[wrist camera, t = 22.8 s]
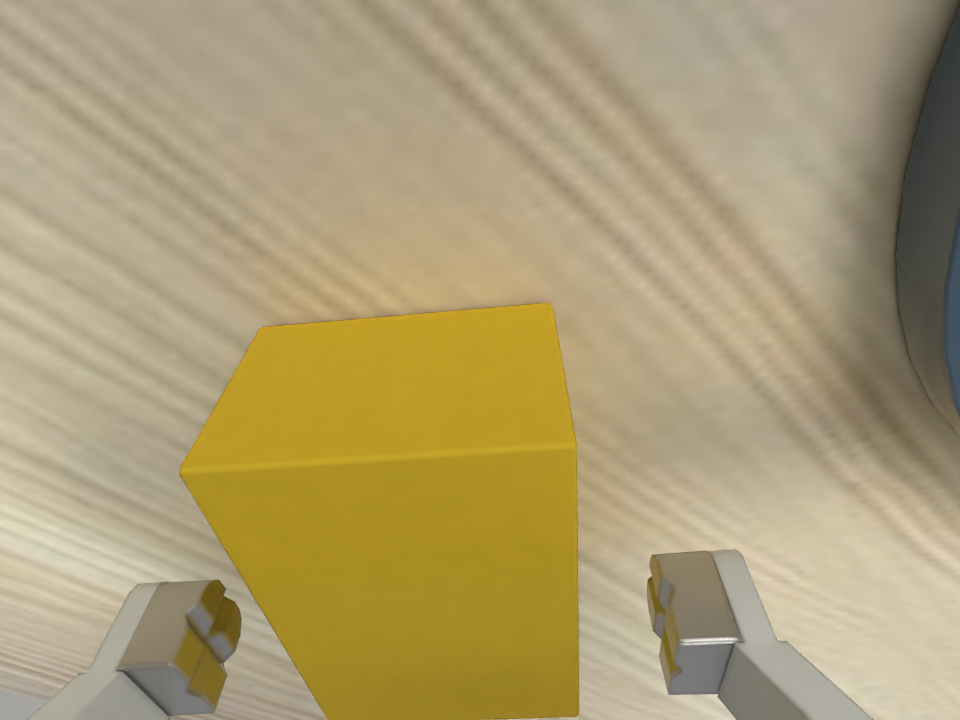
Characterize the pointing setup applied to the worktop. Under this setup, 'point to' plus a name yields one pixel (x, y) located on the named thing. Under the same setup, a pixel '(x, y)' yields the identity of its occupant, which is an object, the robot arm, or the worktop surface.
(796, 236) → the worktop surface
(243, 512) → the yellow block
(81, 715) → the robot arm
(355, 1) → the worktop surface
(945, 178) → the plate
